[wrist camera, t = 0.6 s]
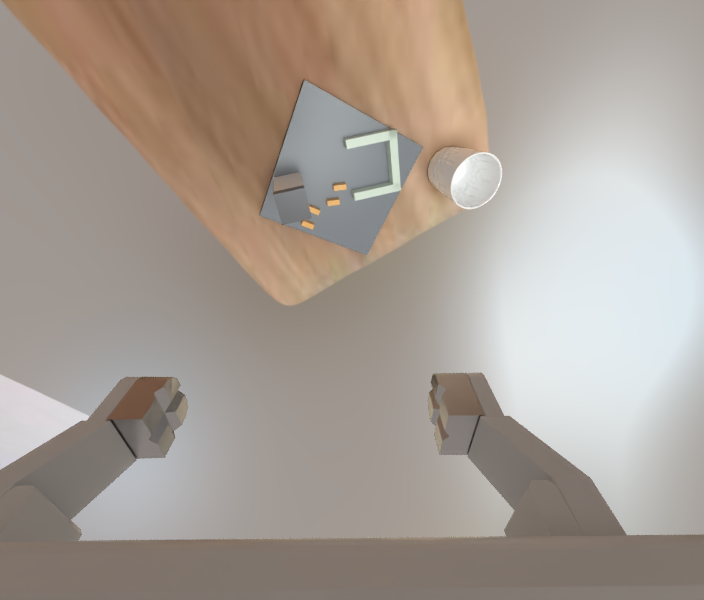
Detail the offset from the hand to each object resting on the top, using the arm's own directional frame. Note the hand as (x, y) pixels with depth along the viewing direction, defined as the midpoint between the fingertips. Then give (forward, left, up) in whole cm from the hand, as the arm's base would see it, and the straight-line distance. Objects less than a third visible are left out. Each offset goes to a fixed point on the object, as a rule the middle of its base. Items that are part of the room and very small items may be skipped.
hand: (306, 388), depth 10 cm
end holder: (-4, +13, -46) cm, 47 cm away
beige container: (+4, +3, -45) cm, 45 cm away
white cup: (-9, +26, -46) cm, 53 cm away
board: (0, +10, -46) cm, 47 cm away
